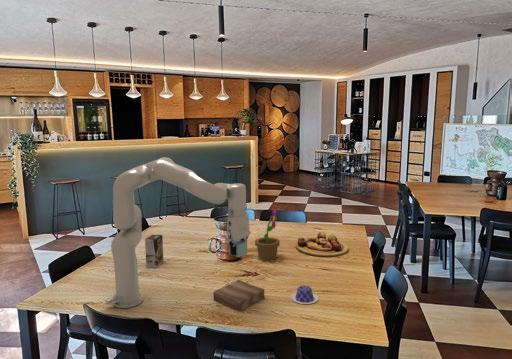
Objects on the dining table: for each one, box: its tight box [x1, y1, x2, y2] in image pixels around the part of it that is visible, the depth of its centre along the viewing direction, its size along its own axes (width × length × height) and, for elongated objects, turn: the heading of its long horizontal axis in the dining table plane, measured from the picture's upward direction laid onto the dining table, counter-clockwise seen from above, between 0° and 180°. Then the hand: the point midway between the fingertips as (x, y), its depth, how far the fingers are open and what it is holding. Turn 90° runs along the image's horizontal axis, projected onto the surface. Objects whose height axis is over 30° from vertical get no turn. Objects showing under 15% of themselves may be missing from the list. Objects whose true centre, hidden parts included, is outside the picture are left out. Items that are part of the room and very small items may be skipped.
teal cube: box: [228, 239, 248, 258], centre depth 164 cm, size 6×6×6 cm
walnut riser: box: [213, 279, 265, 312], centre depth 168 cm, size 16×16×4 cm
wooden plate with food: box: [295, 231, 349, 258], centre depth 232 cm, size 32×32×8 cm
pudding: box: [290, 284, 319, 305], centre depth 167 cm, size 12×12×5 cm
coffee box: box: [144, 234, 165, 269], centre depth 208 cm, size 9×6×16 cm
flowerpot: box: [254, 208, 280, 262], centre depth 215 cm, size 14×14×30 cm
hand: (238, 252), depth 165 cm, fingers closed on teal cube, 5 cm apart
